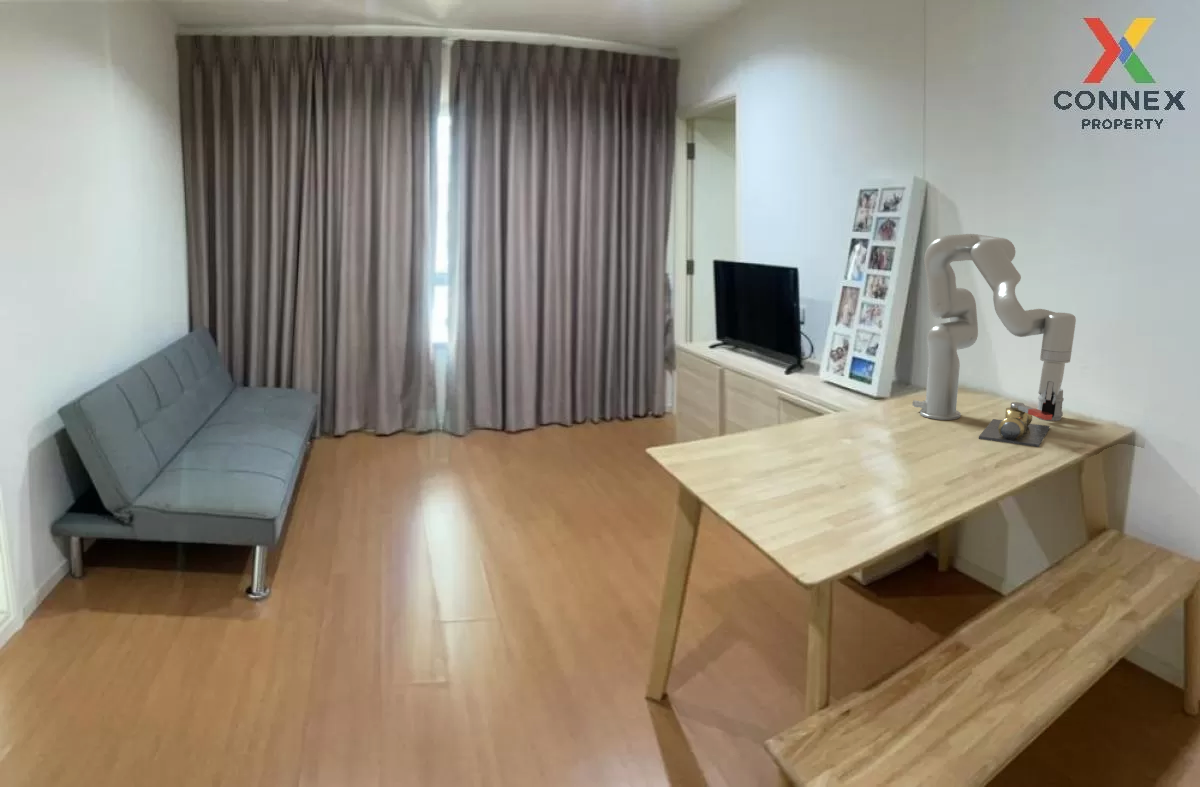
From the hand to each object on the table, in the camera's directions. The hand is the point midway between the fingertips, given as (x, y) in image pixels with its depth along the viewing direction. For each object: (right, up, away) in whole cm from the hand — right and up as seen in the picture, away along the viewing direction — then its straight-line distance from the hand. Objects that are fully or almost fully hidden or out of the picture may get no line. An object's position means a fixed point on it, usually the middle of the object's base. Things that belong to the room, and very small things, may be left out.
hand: (1047, 416), depth 219 cm
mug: (+14, -2, +23) cm, 27 cm away
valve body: (-4, -6, +10) cm, 12 cm away
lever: (-4, +1, +3) cm, 5 cm away
